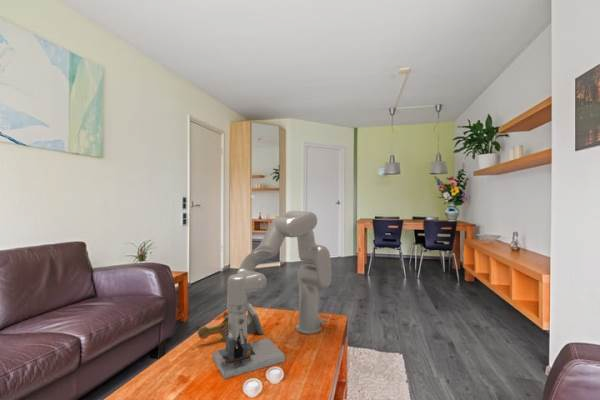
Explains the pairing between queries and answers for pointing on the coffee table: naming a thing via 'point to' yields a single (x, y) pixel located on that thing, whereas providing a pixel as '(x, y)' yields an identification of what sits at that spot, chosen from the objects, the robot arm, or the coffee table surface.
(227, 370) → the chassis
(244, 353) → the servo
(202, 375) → the coffee table surface
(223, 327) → the toy helicopter
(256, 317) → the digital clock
